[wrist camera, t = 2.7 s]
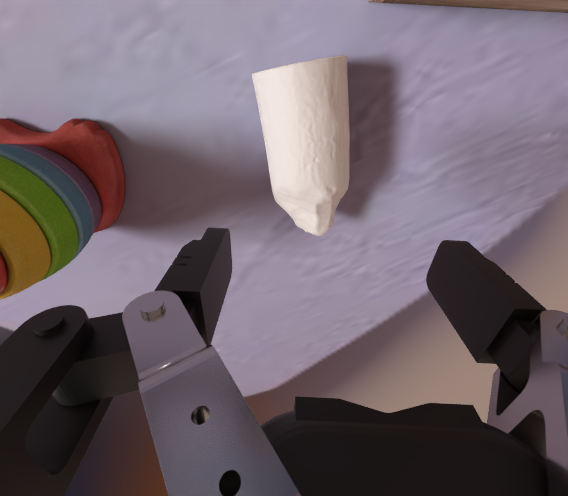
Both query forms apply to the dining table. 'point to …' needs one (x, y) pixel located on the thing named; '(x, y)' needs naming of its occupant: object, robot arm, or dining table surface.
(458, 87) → the dining table surface
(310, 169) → the roll
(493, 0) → the box
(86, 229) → the stacking bear
